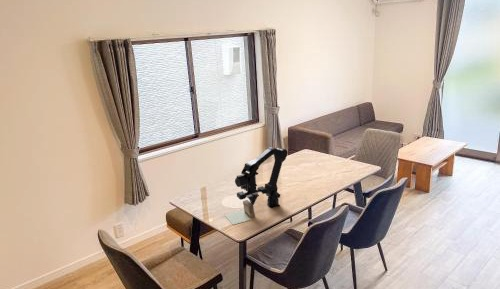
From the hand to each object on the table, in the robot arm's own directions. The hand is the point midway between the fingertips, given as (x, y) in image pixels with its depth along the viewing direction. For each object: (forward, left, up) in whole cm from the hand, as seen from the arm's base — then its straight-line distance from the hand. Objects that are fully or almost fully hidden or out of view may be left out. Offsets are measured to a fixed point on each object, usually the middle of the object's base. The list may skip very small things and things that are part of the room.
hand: (252, 205), depth 230 cm
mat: (+11, 0, -6) cm, 12 cm away
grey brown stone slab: (+2, 0, -6) cm, 6 cm away
